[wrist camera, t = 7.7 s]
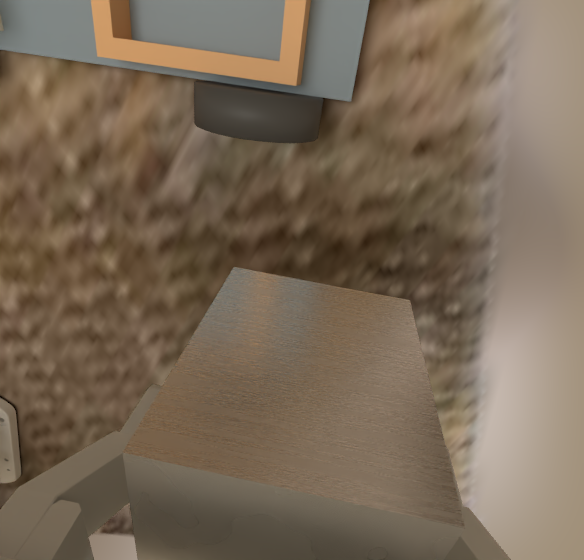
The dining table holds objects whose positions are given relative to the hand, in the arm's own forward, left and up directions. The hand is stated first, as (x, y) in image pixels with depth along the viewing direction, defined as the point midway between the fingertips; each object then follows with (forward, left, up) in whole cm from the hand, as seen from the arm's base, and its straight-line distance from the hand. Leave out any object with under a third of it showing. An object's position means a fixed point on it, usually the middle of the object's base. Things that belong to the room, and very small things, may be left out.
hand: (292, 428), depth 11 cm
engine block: (0, 0, -2) cm, 2 cm away
